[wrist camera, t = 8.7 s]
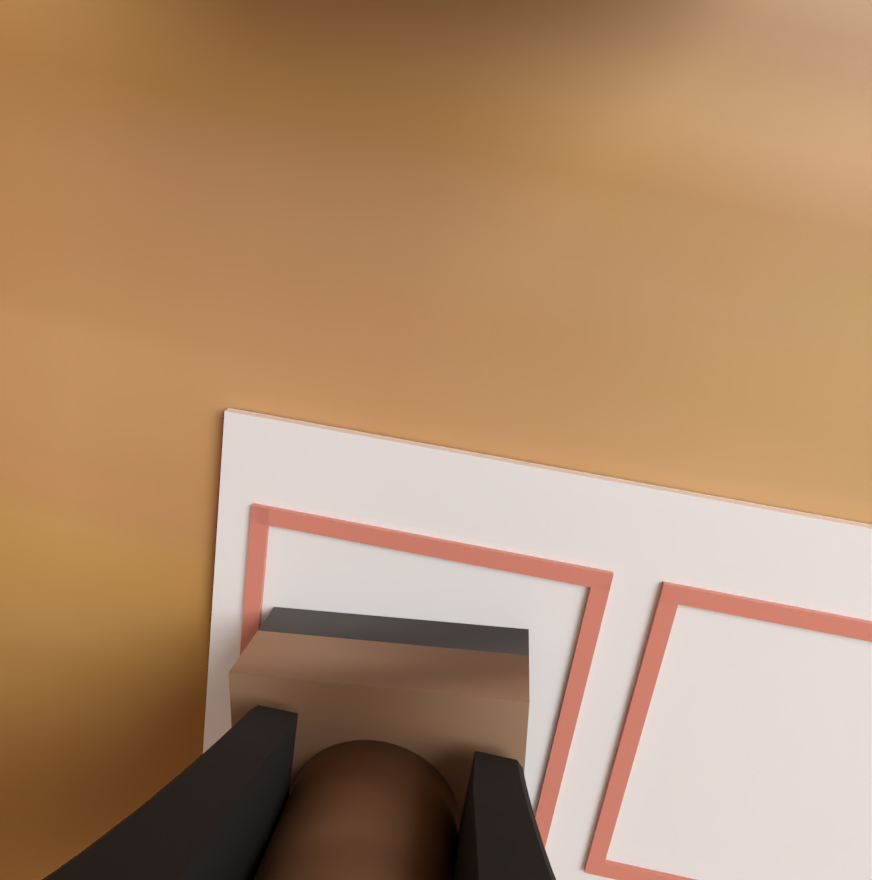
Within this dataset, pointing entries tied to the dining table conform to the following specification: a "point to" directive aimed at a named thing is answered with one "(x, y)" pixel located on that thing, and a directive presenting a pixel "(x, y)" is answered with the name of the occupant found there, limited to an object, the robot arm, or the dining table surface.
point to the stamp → (381, 735)
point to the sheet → (590, 637)
